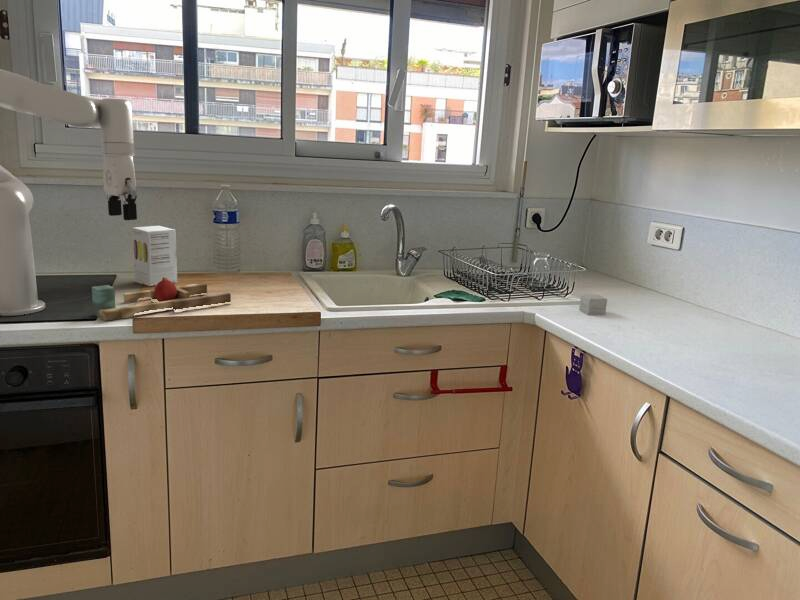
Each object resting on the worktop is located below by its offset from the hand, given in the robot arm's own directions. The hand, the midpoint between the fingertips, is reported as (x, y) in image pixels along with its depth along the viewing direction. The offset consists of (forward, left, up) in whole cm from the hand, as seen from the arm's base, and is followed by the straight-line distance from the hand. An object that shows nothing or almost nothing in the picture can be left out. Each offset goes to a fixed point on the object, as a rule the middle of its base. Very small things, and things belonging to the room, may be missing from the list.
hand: (122, 217), depth 168 cm
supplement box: (+17, +20, -24) cm, 36 cm away
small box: (+101, -81, -24) cm, 132 cm away
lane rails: (+14, -8, -23) cm, 28 cm away
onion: (+8, -7, -24) cm, 26 cm away
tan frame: (+1, -8, -23) cm, 24 cm away
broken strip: (+10, +2, -23) cm, 26 cm away
